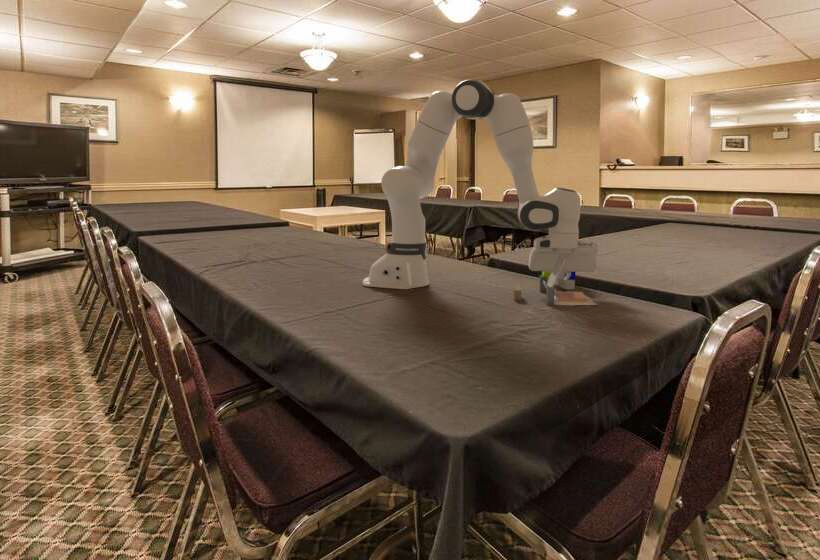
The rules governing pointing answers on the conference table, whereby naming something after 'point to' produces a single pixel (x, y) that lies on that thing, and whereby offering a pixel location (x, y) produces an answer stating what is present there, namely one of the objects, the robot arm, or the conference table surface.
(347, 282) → the conference table surface
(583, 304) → the mat
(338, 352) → the conference table surface
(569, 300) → the tile
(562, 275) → the puzzle toy
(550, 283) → the flipper
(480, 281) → the conference table surface
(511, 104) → the robot arm
